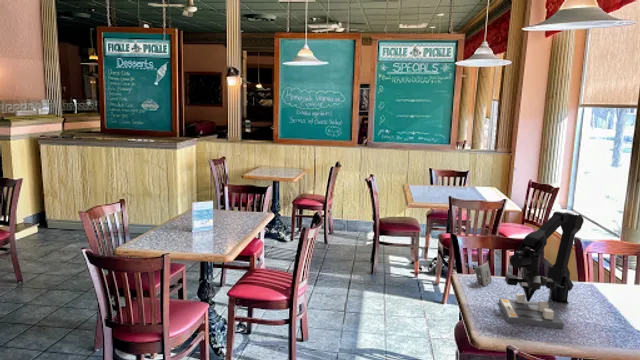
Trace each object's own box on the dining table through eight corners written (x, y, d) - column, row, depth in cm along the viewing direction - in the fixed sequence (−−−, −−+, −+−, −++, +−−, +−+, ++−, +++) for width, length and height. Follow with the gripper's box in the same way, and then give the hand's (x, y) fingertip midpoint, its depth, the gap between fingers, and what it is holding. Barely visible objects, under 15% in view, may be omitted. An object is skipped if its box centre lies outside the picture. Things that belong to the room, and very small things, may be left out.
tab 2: (550, 316, 183) (551, 309, 182) (553, 319, 180) (553, 312, 179) (542, 315, 183) (543, 308, 183) (544, 318, 180) (545, 311, 180)
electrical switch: (485, 286, 220) (485, 267, 219) (474, 284, 223) (474, 265, 222) (492, 281, 227) (491, 263, 226) (481, 280, 230) (481, 261, 230)
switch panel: (548, 307, 198) (548, 302, 197) (563, 328, 178) (563, 322, 178) (498, 302, 201) (499, 297, 201) (508, 322, 182) (508, 317, 181)
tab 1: (545, 309, 190) (546, 302, 189) (547, 312, 187) (548, 305, 186) (537, 308, 190) (538, 301, 190) (539, 311, 187) (540, 304, 187)
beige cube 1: (523, 300, 198) (523, 294, 197) (524, 303, 195) (525, 296, 194) (515, 300, 198) (516, 293, 198) (517, 302, 195) (517, 295, 195)
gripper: (512, 269, 187) (508, 306, 190) (561, 273, 184) (557, 311, 186) (506, 261, 198) (503, 296, 200) (553, 265, 195) (549, 300, 197)
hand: (527, 301), depth 196 cm, fingers closed
